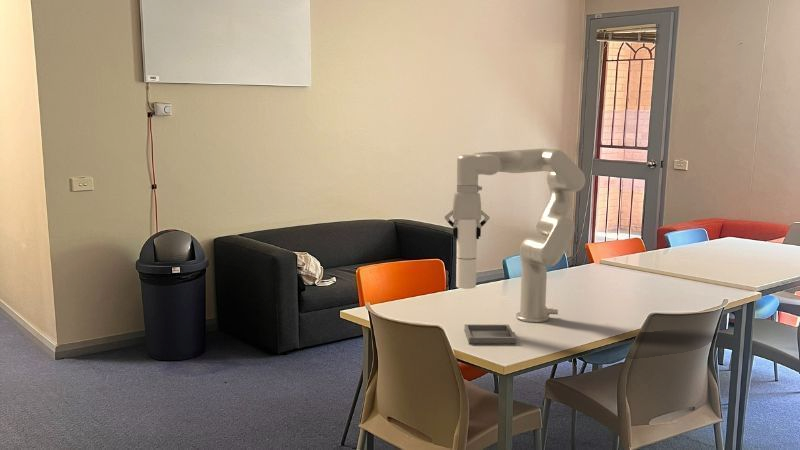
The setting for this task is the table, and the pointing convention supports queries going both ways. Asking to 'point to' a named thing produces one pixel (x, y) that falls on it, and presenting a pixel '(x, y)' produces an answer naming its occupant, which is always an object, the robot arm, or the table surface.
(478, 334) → the desk tray
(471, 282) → the cylindrical container
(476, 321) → the table surface
